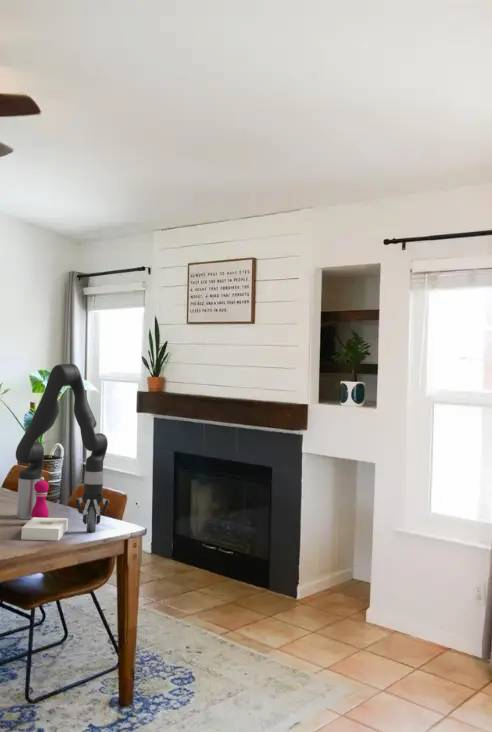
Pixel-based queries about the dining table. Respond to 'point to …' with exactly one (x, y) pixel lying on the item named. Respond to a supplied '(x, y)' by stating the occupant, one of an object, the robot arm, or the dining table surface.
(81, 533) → the dining table surface
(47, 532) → the hole block
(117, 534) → the dining table surface
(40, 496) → the pepper mill
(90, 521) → the peg
